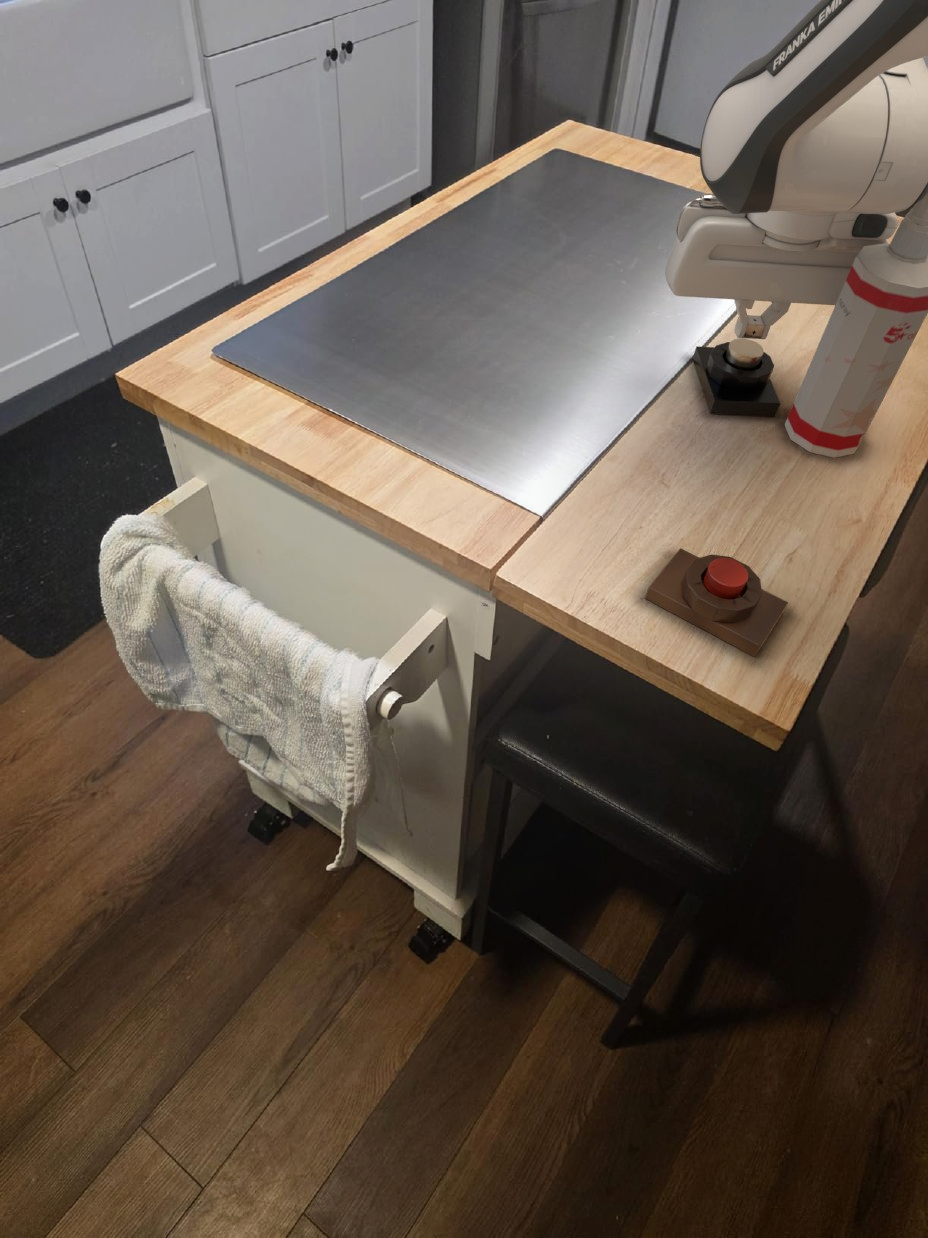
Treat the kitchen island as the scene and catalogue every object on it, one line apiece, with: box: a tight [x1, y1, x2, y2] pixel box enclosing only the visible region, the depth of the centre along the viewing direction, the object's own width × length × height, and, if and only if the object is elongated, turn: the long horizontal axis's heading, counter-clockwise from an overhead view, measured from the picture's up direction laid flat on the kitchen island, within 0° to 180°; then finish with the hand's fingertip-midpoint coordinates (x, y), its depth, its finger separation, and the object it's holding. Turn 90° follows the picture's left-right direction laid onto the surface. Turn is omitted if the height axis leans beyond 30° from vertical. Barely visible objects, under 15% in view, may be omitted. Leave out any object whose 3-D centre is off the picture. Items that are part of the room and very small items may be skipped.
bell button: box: [704, 558, 748, 599], centre depth 71 cm, size 3×3×2 cm
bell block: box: [644, 547, 789, 657], centre depth 72 cm, size 10×6×3 cm, turn 54°
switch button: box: [724, 338, 765, 371], centre depth 91 cm, size 4×4×2 cm
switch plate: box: [691, 341, 781, 418], centre depth 93 cm, size 7×10×4 cm
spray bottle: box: [784, 194, 928, 459], centre depth 81 cm, size 8×8×25 cm
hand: (749, 335), depth 90 cm, fingers closed
